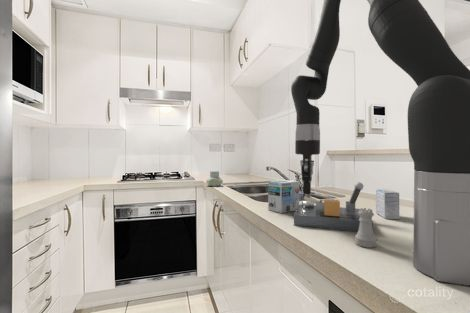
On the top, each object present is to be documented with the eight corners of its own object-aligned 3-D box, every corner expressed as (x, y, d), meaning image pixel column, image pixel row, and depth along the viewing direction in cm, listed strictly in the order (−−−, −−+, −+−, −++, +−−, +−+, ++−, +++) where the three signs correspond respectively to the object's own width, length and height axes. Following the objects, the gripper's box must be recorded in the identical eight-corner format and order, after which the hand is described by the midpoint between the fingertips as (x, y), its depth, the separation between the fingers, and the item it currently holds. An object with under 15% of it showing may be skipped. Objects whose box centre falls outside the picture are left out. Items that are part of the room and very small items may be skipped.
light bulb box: (281, 213, 85) (281, 182, 85) (267, 210, 91) (267, 181, 91) (300, 209, 92) (300, 180, 92) (285, 206, 97) (286, 179, 97)
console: (372, 233, 64) (372, 210, 64) (293, 225, 71) (294, 204, 71) (363, 218, 80) (363, 199, 80) (299, 212, 86) (299, 195, 87)
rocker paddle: (336, 212, 73) (338, 207, 73) (303, 199, 76) (304, 195, 76) (335, 209, 77) (337, 205, 77) (304, 197, 80) (305, 193, 80)
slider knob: (339, 216, 68) (339, 200, 68) (324, 215, 70) (324, 199, 70) (338, 213, 72) (339, 197, 72) (324, 212, 73) (324, 196, 73)
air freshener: (222, 185, 168) (222, 170, 168) (222, 186, 160) (223, 171, 160) (206, 185, 168) (206, 170, 168) (206, 186, 159) (206, 171, 159)
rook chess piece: (365, 249, 53) (365, 211, 53) (350, 242, 57) (350, 207, 57) (381, 247, 54) (382, 210, 54) (365, 240, 58) (366, 206, 58)
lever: (354, 211, 77) (365, 184, 76) (345, 207, 78) (356, 181, 77) (353, 209, 80) (364, 183, 78) (344, 206, 80) (355, 180, 79)
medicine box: (399, 220, 78) (400, 192, 78) (384, 219, 79) (384, 192, 79) (389, 214, 86) (389, 189, 86) (375, 213, 87) (375, 189, 87)
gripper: (297, 141, 86) (297, 190, 86) (293, 138, 73) (292, 196, 73) (320, 140, 83) (319, 192, 83) (319, 137, 71) (318, 198, 71)
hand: (306, 194), depth 78 cm, fingers closed
